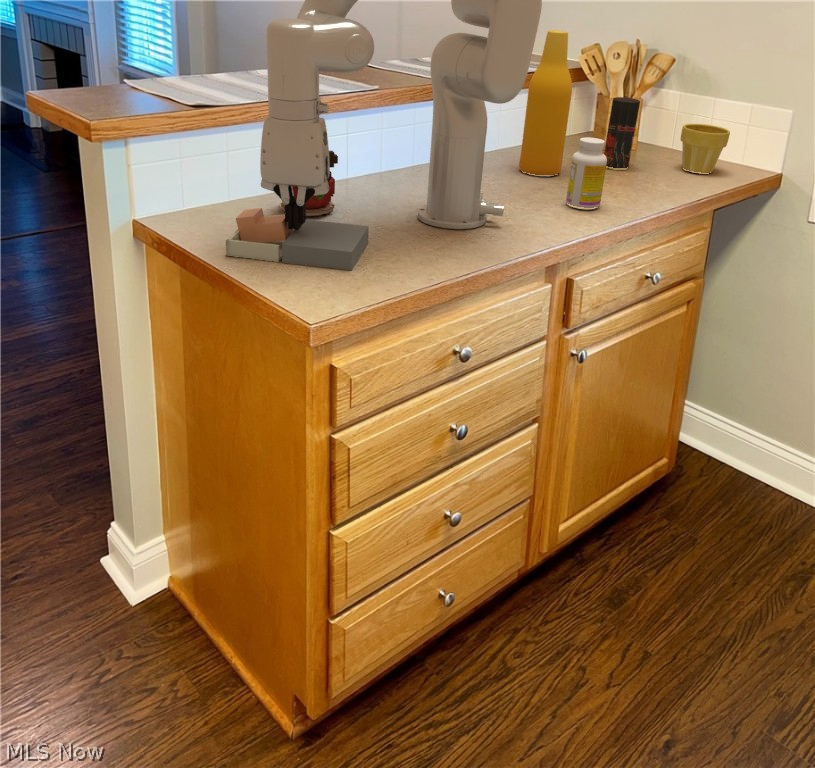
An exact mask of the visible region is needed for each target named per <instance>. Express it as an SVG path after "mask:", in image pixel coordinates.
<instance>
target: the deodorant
mask: <svg viewBox="0 0 815 768" xmlns="http://www.w3.org/2000/svg"><path fill="white" fill-rule="evenodd" d="M640 105H641V100H639V99H636V98H634V97H633V98H631V97H627V96H626V97H623V96H619V97H618V96H617V97H613V98H612V102H611V109H610V116H609V119H608V120H609V121H608V128H607V133H606V134H607V135H606V139H605V144H604V149H603V150H604V151H603V154H604V155H605V156H606V158H607V164H606V166H608V167H613V168H627V167H628V168H629V166H630V160H631V155H632V151H633V150H632V149H633V143H634V138H635V134H636V127H637V121H638V115H639V110H640Z"/></svg>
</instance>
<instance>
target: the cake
mask: <svg viewBox="0 0 815 768" xmlns="http://www.w3.org/2000/svg"><path fill="white" fill-rule="evenodd" d="M329 162H330V168H332V169H333V168H335V164H339V156H338V155H337V154H335V151H333V150H329ZM327 181H328V185H329V191H328V192H327V193H326V194H322V195H314V196H312V197H311V198H310V199H309V200H308V201H307V202H306V217H309V216H313V217H314V216H323V214H329V213H331V212H333V211H334V209H335V204H334V203H333V202H332V197H334V195H335V194H336V193H335V192H336V187H335V186H336V179H335V178H334V177H333V175H332V171H331V170H330V174H329V178H328V179H327ZM298 187H299V186H292V188H293V194H294V197H295V200H297V194H298ZM280 207H281V209H282V210H283V211H284V212H285V204H283V203H282V202H280Z"/></svg>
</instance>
